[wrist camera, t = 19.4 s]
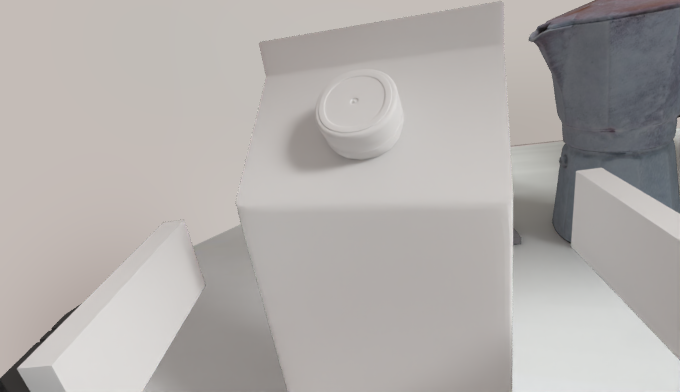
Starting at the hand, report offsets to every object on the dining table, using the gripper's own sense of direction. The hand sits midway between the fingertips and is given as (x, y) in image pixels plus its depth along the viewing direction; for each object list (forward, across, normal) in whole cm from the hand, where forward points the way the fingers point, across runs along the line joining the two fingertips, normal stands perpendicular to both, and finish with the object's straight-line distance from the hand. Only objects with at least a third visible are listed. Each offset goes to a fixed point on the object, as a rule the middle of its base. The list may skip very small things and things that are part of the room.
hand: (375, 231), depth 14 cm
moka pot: (+20, +19, -13) cm, 30 cm away
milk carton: (0, +1, -13) cm, 13 cm away
